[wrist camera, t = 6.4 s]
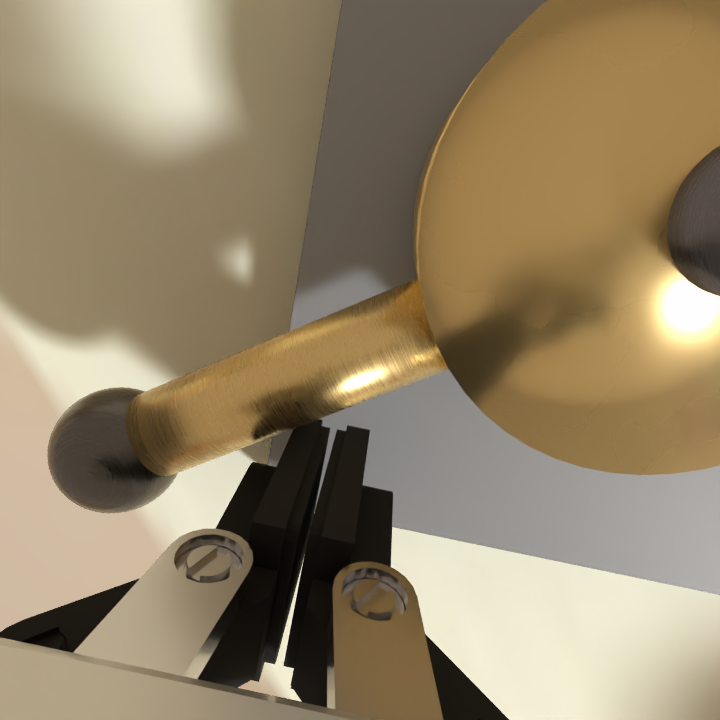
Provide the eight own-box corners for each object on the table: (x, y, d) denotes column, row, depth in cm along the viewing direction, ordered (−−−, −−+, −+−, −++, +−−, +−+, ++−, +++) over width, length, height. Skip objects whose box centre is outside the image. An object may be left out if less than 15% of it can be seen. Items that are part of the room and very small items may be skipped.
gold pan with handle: (776, -88, 9) (1073, -297, 5) (845, 328, 11) (1089, 406, 7) (21, 283, 12) (-159, 332, 8) (192, 553, 14) (115, 693, 10)
